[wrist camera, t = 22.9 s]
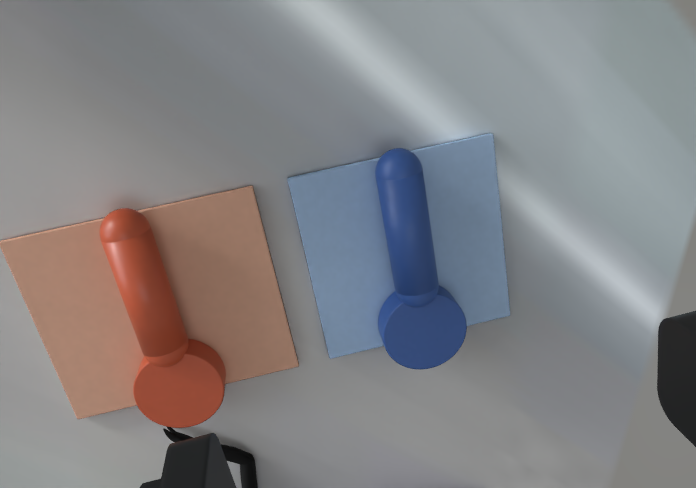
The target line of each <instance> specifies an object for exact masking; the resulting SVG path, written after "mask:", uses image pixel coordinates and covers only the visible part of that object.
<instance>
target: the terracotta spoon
mask: <svg viewBox="0 0 696 488" xmlns="http://www.w3.org/2000/svg"><path fill="white" fill-rule="evenodd" d="M99 234H100V239H101V243H102V245H103V248H104V251H105V253H106V256H107V259H108V261H109V264H110V267H111V270H112V272H113V275H114V278H115V280H116V283H117V286H118V288H119V291H120V294H121V296H122V299H123V302H124V304H125V307H126V310H127V312H128V315H129V318H130V321H131V323H132V326H133V329H134V331H135V334H136V337H137V339H138V342H139V345H140V347H141V350H142V353H143V355H144V358H143V360H142V362H141V364H140V367H139V370H138V373H137V375H136V378H135V381H134V386H133V394H134V399H135V402H136V404H137V406H138V407H139V409H140V410H141V412H142V413H143V414H144V415H145V416H146V417H148V418H149V419H150V420H152V421H154V422H156V423H158V424H160V425H163V426H167V427H173V428H184V427H190V426H194V425H197V424H200V423H202V422H204V421H206V420H207V419H209V418H210V417H211V416H212V415H213V414H214V413H215V412H216V411H217V410H218V408H219V407H220V405H221V403H222V401H223V397H224V390H225V380H226V370H225V366H224V363H223V361H222V359H221V357H220V356H219V355H218V354H217V352H216V351H215V350H214V349H212V348H211V347H210V346H208V345H206V344H205V343H202V342H200V341H197V340H194V339H188V337H187V334H186V331H185V328H184V325H183V322H182V319H181V316H180V313H179V310H178V307H177V304H176V301H175V298H174V295H173V292H172V289H171V286H170V283H169V280H168V277H167V274H166V271H165V268H164V265H163V262H162V259H161V256H160V253H159V250H158V247H157V244H156V241H155V238H154V235H153V232H152V229H151V226H150V224H149V222H148V220H147V219H146V217H145V216H144V215H143V214H141V213H140V212H138V211H136V210H133V209H128V208H123V209H117V210H115V211H113V212H111V213H109V214H108V215H107V216H106V217H105V218H104V220H103V221H102V223H101V225H100V230H99Z"/></svg>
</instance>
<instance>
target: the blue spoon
mask: <svg viewBox="0 0 696 488" xmlns="http://www.w3.org/2000/svg"><path fill="white" fill-rule="evenodd" d="M375 176H376V182H377V188H378V194H379V200H380V205H381V211H382V217H383V223H384V229H385V234H386V240H387V246H388V252H389V258H390V263H391V269H392V275H393V281H394V287H395V292H393V293H392V294H391V295H390V296H389V297H388V298H387V299H386V301H385V302H384V304H383V305H382V308H381V310H380V313H379V317H378V329H379V333H380V336H381V338H382V341H383V344H384V346H385V349H386V351H387V352H388V354H389V355H390V357H391V358H392V359H393V360H394V361H396V362H397V363H399V364H400V365H402V366H405V367H408V368H412V369H428V368H433V367H436V366H438V365H441V364H443V363H444V362H446V361H447V360H449V359H450V358H451V357H452V356H454V355H455V354H456V352H457V351H458V350H459V348H460V347H461V345H462V343H463V341H464V339H465V335H466V329H467V324H466V318H465V315H464V312H463V311H462V309H461V307H460V306H459V305H458V303H457V302H456V300H455V299H454V297H453V296H452V295H451V293H449V292H448V291H447V290H446V289H445V288H443V287H442V286H440V285H439V282H438V275H437V268H436V261H435V253H434V246H433V239H432V232H431V225H430V218H429V211H428V203H427V196H426V189H425V182H424V175H423V168H422V164H421V162H420V160H419V158H418V157H417V156H416V155H415V154H414V153H413V152H411V151H409V150H406V149H402V148H396V149H392V150H389V151H387V152H386V153H384V154H383V155H382V156H381V157H380V159H379V160H378V162H377V165H376V169H375Z"/></svg>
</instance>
